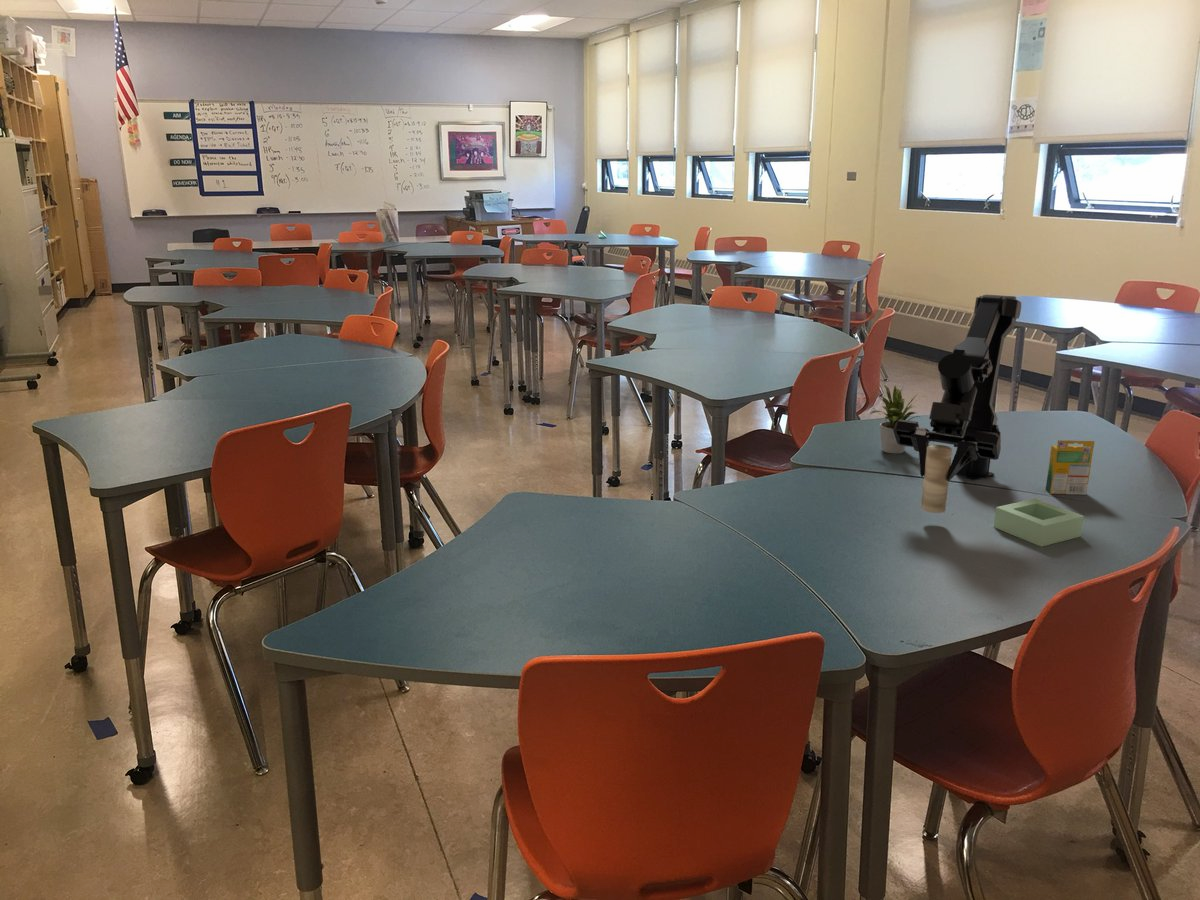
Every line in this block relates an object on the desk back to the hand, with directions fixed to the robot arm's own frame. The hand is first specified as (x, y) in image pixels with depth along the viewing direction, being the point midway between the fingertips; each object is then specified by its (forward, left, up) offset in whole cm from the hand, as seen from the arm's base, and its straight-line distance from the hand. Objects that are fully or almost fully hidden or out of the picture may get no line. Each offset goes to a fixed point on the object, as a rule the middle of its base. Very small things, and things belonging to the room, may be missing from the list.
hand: (934, 477), depth 168 cm
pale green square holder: (-15, +11, -9) cm, 21 cm away
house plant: (-28, -41, -10) cm, 50 cm away
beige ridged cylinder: (-1, -1, -7) cm, 7 cm away
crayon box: (-39, -1, -10) cm, 40 cm away
